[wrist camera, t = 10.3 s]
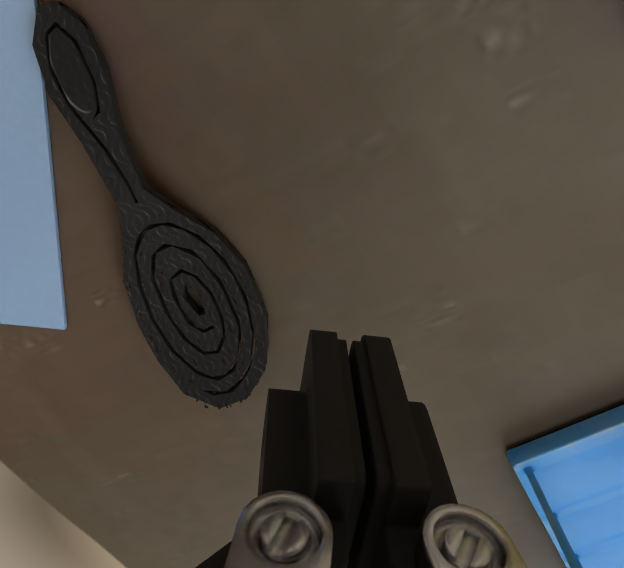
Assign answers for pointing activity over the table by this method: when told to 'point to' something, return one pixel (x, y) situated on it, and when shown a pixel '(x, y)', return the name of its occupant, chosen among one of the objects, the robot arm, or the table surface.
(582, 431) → the file sorter
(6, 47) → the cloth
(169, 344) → the hairbrush
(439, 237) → the table surface
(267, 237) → the table surface
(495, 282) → the table surface
